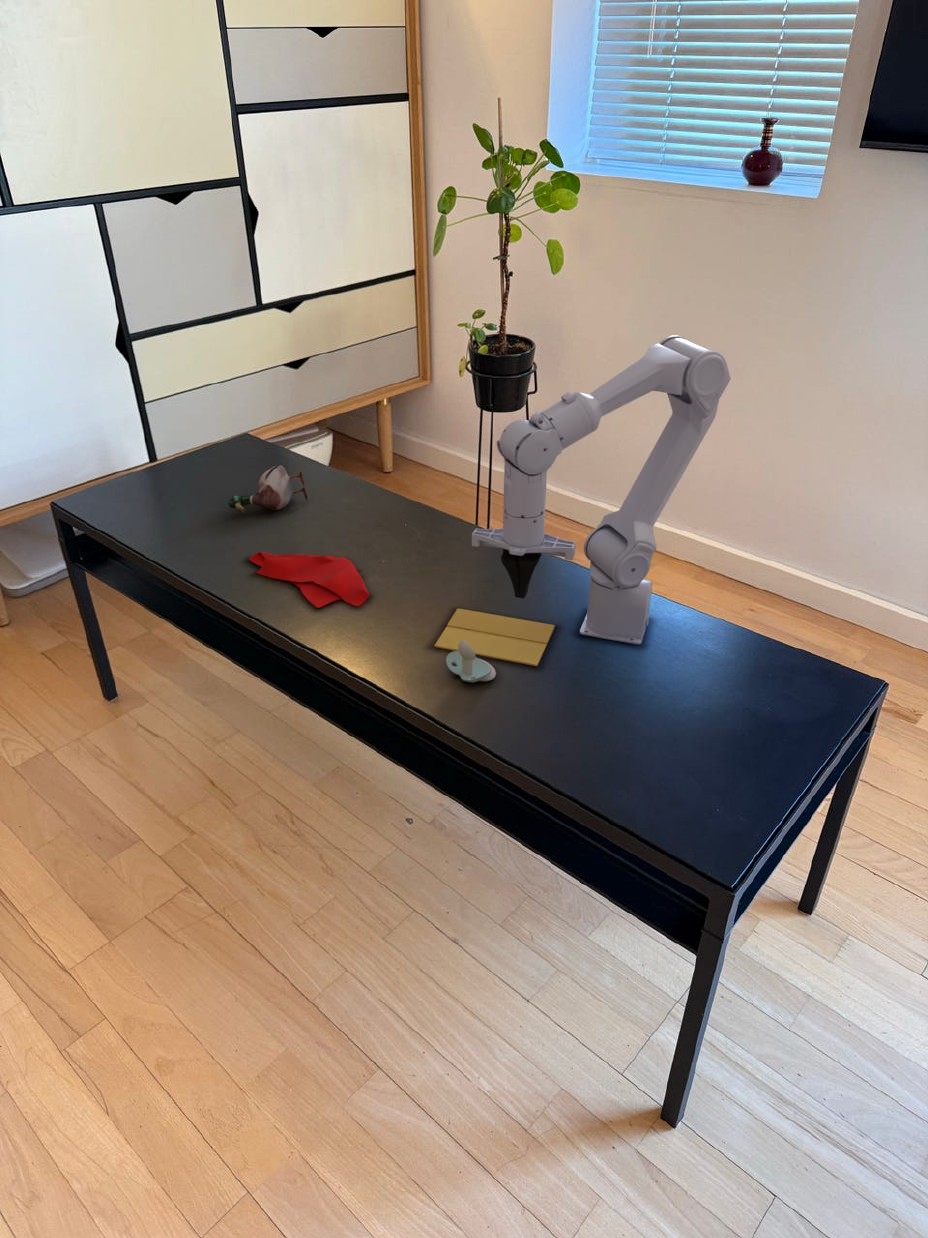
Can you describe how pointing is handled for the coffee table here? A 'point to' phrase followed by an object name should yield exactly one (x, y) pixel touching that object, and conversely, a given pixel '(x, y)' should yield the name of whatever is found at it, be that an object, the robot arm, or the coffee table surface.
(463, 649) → the pacifier
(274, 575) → the cloth
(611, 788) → the coffee table surface
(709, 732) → the coffee table surface
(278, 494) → the decorative duck model
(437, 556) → the coffee table surface
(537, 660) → the envelope
